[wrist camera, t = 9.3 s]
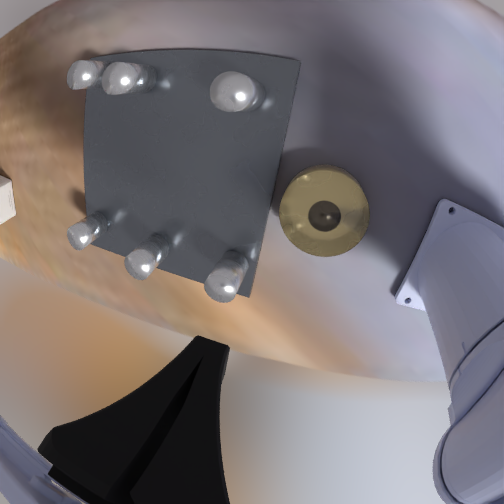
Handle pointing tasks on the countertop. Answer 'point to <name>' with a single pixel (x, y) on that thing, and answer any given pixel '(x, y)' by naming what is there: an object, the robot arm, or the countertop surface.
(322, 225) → the brass nut
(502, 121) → the countertop surface
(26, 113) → the countertop surface
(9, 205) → the ink box
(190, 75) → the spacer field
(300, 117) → the countertop surface
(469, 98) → the countertop surface
